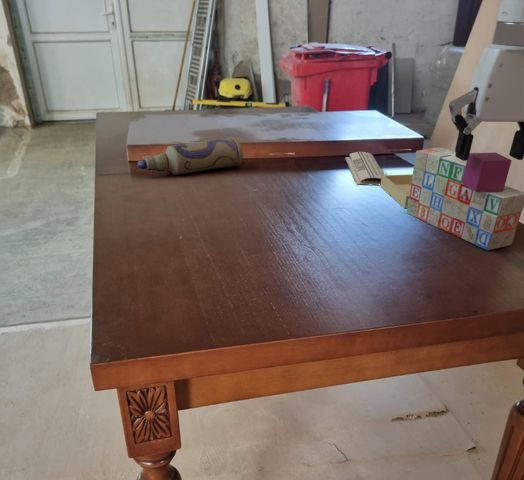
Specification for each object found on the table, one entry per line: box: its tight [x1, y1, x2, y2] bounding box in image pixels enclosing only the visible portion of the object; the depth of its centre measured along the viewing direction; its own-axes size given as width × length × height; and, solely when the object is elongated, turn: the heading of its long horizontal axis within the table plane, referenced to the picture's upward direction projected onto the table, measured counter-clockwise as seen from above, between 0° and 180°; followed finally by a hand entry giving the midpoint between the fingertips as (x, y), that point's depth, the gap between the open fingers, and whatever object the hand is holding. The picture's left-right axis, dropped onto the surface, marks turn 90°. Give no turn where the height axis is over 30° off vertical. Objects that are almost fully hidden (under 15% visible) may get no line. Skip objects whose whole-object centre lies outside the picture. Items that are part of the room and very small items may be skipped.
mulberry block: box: [462, 152, 512, 192], centre depth 88 cm, size 5×5×5 cm
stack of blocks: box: [406, 146, 524, 251], centre depth 95 cm, size 21×6×12 cm, turn 27°
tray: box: [379, 173, 413, 209], centre depth 114 cm, size 11×15×3 cm
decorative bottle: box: [136, 137, 244, 176], centre depth 125 cm, size 26×8×7 cm, turn 119°
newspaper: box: [344, 151, 385, 186], centre depth 130 cm, size 24×7×2 cm, turn 179°
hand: (488, 158), depth 86 cm, fingers open, 9 cm apart
